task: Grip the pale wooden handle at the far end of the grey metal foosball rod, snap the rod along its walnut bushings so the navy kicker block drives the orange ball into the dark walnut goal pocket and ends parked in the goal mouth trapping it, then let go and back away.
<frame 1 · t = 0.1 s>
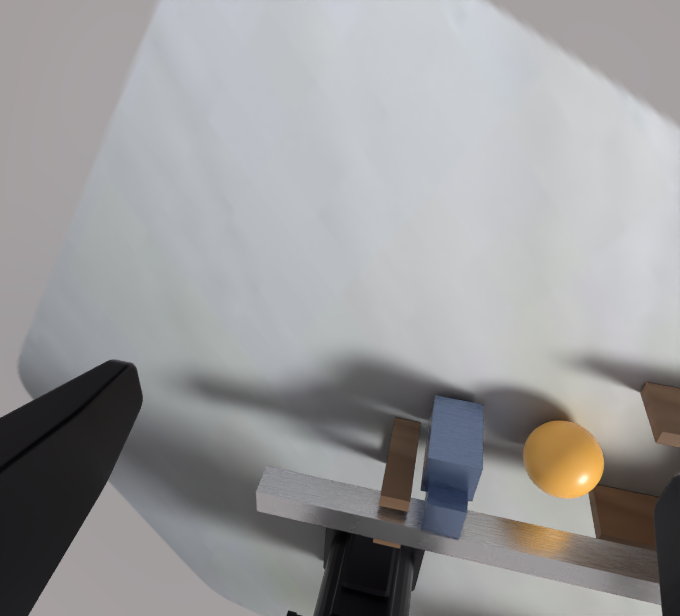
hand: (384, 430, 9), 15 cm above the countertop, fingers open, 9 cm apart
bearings: (390, 442, 31), on the countertop
ball: (562, 458, 26), point 2 cm above the countertop
goal: (678, 454, 27), on the countertop
rod: (599, 549, 25), point 5 cm above the countertop, slide at 0.0 cm
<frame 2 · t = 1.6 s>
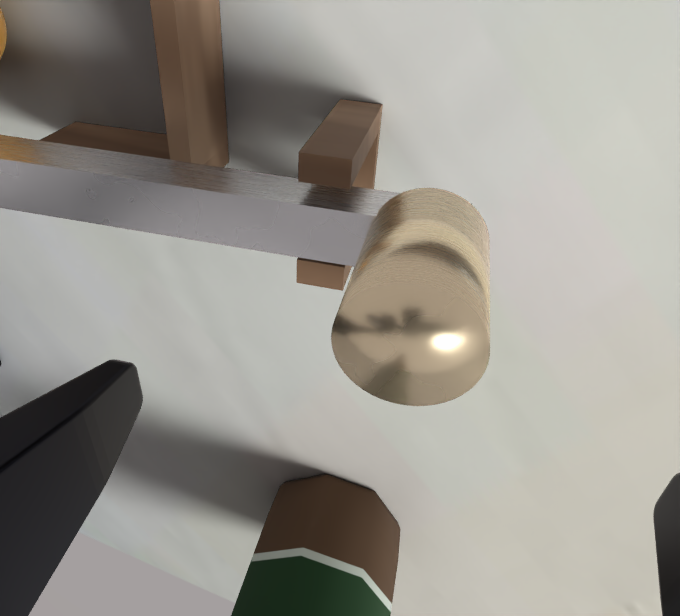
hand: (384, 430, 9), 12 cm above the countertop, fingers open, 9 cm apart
beer bottle: (335, 512, 32), on the countertop
goal: (135, 29, 18), on the countertop
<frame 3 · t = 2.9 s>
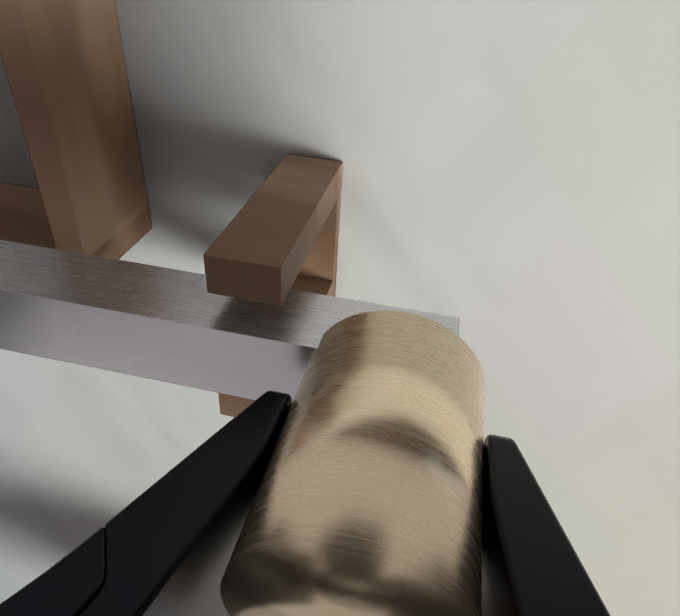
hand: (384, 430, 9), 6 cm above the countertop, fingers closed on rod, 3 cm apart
goal: (15, 63, 14), on the countertop
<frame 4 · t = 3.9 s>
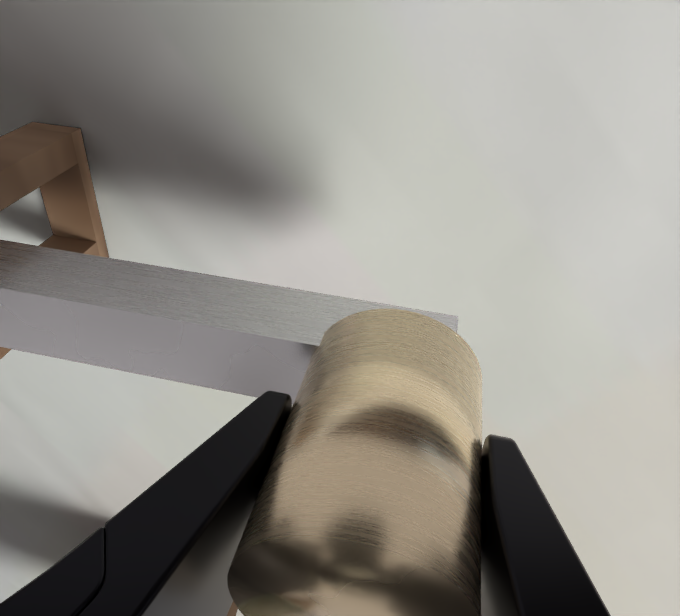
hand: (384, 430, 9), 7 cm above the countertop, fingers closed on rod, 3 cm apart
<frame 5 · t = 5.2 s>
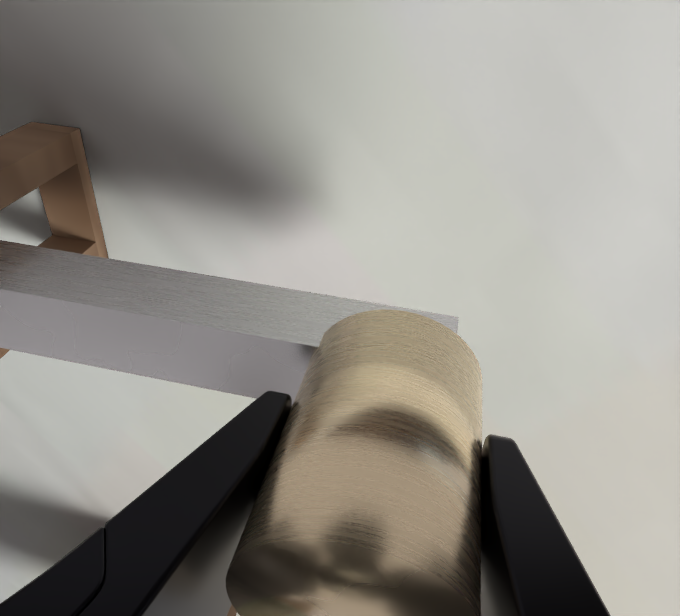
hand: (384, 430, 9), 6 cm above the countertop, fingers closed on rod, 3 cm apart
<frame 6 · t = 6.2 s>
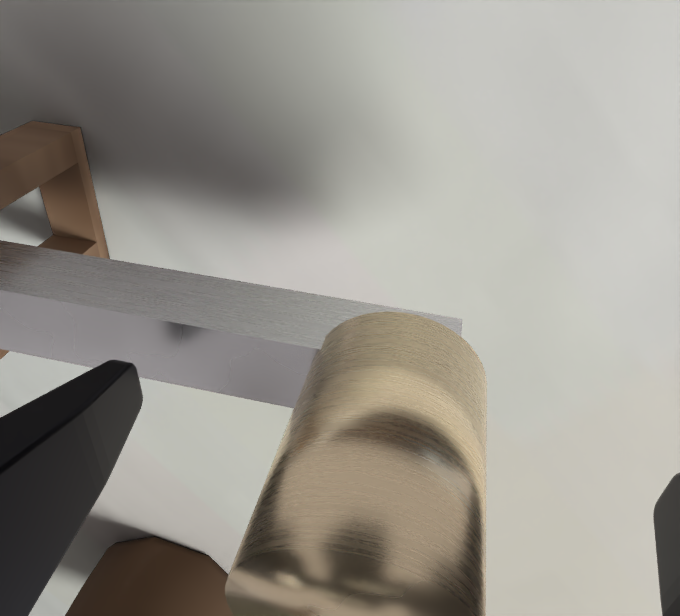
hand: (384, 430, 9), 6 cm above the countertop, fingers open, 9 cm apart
beer bottle: (178, 574, 28), on the countertop
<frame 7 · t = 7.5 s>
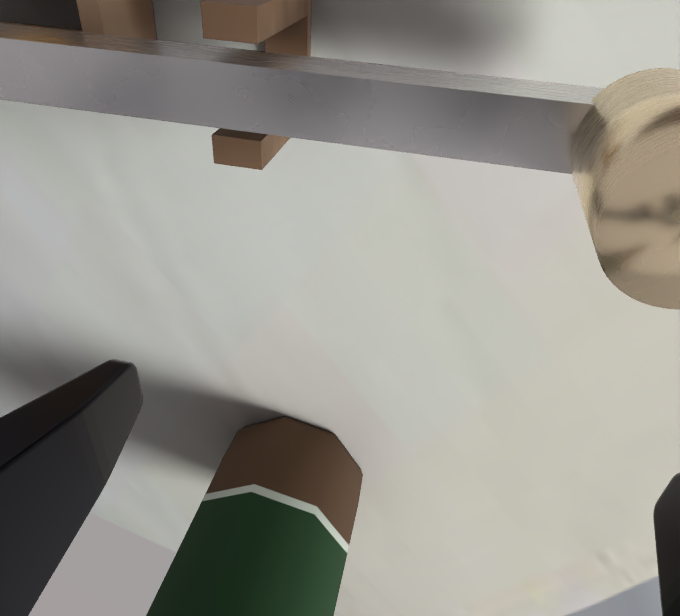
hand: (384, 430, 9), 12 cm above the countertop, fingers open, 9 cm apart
beer bottle: (297, 459, 31), on the countertop
rod: (62, 9, 14), point 5 cm above the countertop, slide at 7.1 cm
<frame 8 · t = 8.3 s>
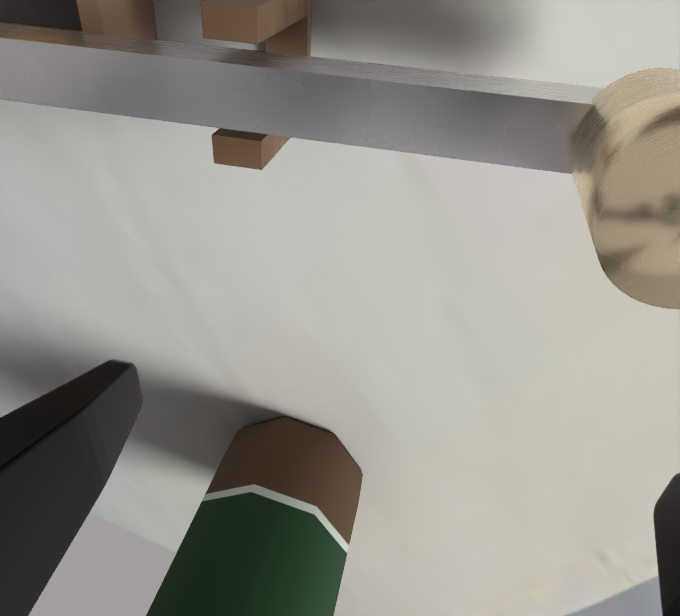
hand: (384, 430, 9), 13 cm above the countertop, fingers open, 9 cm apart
beer bottle: (297, 459, 31), on the countertop
rod: (62, 9, 14), point 5 cm above the countertop, slide at 7.1 cm
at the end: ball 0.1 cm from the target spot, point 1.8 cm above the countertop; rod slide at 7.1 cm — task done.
